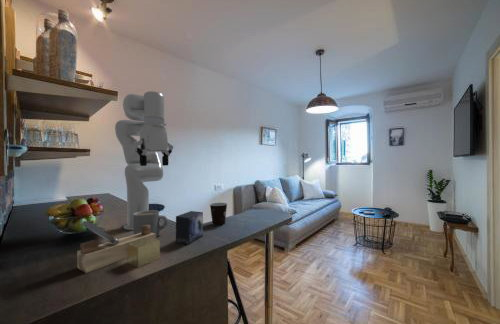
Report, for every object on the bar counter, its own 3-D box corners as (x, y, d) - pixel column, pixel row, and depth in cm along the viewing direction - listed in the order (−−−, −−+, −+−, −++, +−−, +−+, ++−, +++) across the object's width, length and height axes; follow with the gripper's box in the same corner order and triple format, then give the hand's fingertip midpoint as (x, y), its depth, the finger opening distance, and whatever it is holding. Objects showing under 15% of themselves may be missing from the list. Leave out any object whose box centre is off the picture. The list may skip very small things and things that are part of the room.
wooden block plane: (77, 267, 64) (77, 241, 64) (146, 244, 83) (146, 223, 83) (86, 273, 61) (85, 244, 61) (156, 247, 80) (155, 225, 80)
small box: (189, 245, 81) (188, 217, 81) (175, 243, 83) (174, 216, 83) (204, 236, 91) (203, 211, 91) (190, 234, 93) (190, 210, 93)
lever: (109, 242, 71) (80, 224, 64) (112, 238, 72) (84, 220, 65) (116, 245, 68) (87, 226, 62) (119, 241, 69) (91, 222, 63)
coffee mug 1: (129, 240, 87) (129, 215, 87) (138, 232, 97) (138, 210, 97) (163, 238, 89) (163, 214, 89) (169, 231, 99) (169, 209, 99)
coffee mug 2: (219, 220, 116) (219, 202, 116) (230, 223, 110) (230, 203, 110) (202, 225, 107) (201, 205, 107) (213, 228, 101) (213, 207, 101)
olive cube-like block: (138, 267, 64) (138, 247, 64) (127, 263, 67) (127, 244, 67) (159, 258, 70) (159, 240, 70) (149, 254, 73) (148, 237, 73)
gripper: (166, 127, 96) (167, 165, 96) (127, 121, 81) (128, 166, 81) (177, 125, 92) (178, 165, 92) (138, 118, 77) (139, 165, 77)
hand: (154, 165), depth 86 cm, fingers open, 9 cm apart
